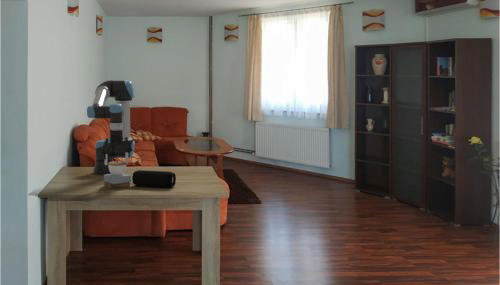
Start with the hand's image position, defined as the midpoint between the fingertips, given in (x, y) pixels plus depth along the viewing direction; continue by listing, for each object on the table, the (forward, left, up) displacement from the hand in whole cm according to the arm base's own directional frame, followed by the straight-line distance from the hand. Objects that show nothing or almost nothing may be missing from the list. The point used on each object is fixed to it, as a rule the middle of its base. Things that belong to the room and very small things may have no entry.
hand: (116, 163), depth 356 cm
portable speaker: (+11, +20, -15) cm, 27 cm away
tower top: (0, 0, -11) cm, 11 cm away
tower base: (0, 0, -15) cm, 15 cm away
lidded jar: (0, 0, -7) cm, 7 cm away
